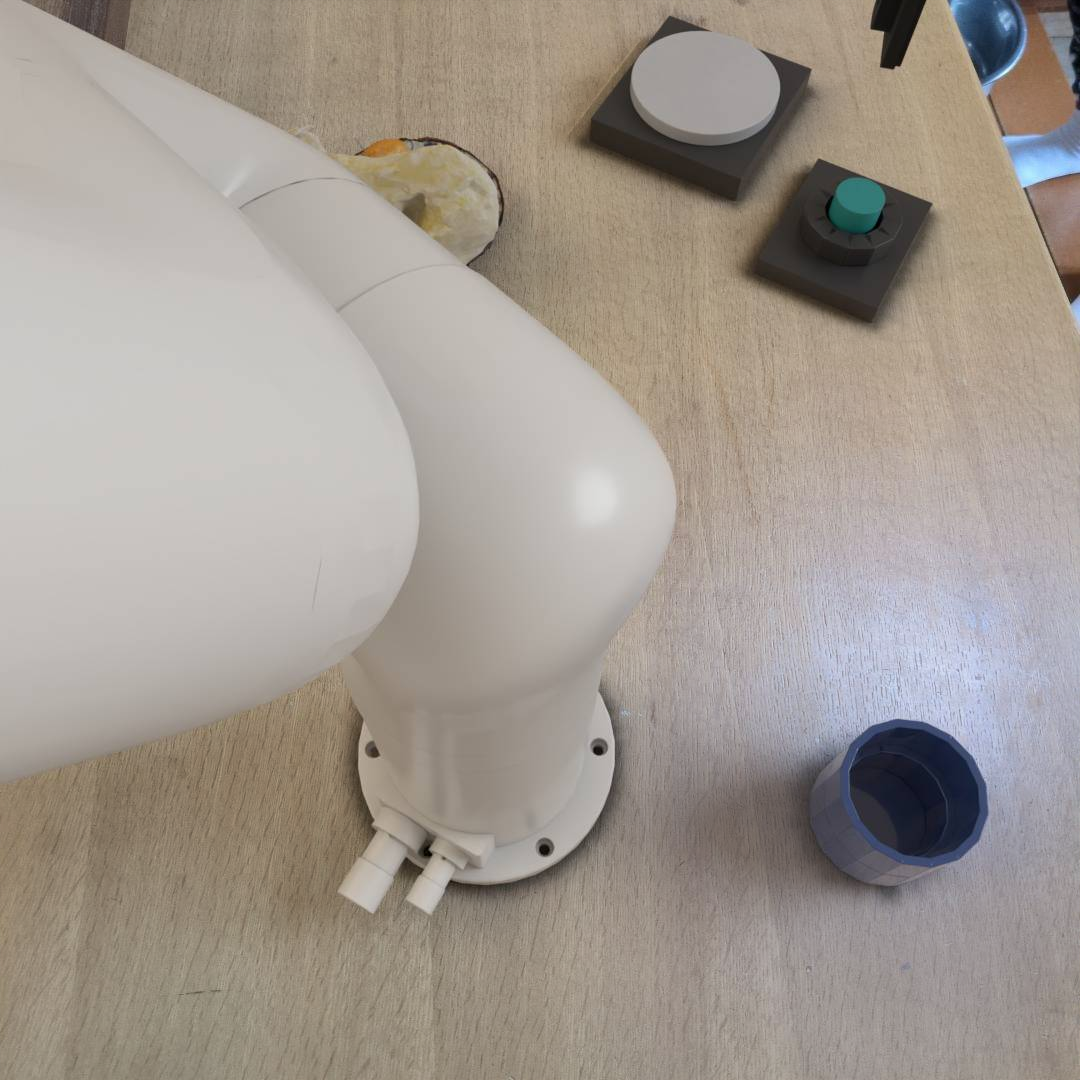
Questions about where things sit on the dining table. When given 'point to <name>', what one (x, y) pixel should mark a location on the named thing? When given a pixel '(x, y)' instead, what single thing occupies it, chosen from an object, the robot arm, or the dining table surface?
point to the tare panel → (841, 245)
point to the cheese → (431, 192)
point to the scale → (700, 106)
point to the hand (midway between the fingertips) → (1017, 68)
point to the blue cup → (899, 803)
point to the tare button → (856, 205)
